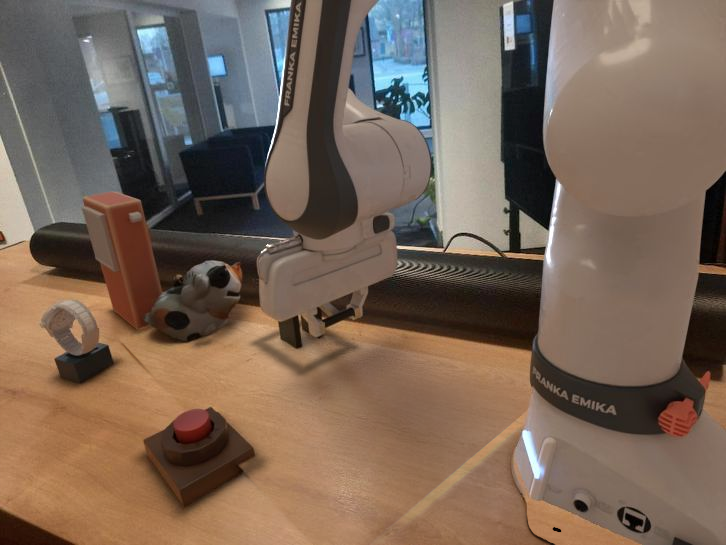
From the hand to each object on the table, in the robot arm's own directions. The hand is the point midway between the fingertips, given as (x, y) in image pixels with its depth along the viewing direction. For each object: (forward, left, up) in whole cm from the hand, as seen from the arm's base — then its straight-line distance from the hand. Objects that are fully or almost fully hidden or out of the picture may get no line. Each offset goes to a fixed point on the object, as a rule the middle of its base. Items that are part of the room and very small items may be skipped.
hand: (337, 325), depth 66 cm
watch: (+27, +26, -7) cm, 38 cm away
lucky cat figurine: (+27, +8, -7) cm, 29 cm away
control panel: (+40, +14, -7) cm, 43 cm away
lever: (+5, 0, +2) cm, 5 cm away
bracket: (+9, 0, -7) cm, 11 cm away
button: (-3, +22, -3) cm, 22 cm away
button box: (-3, +22, -7) cm, 23 cm away
